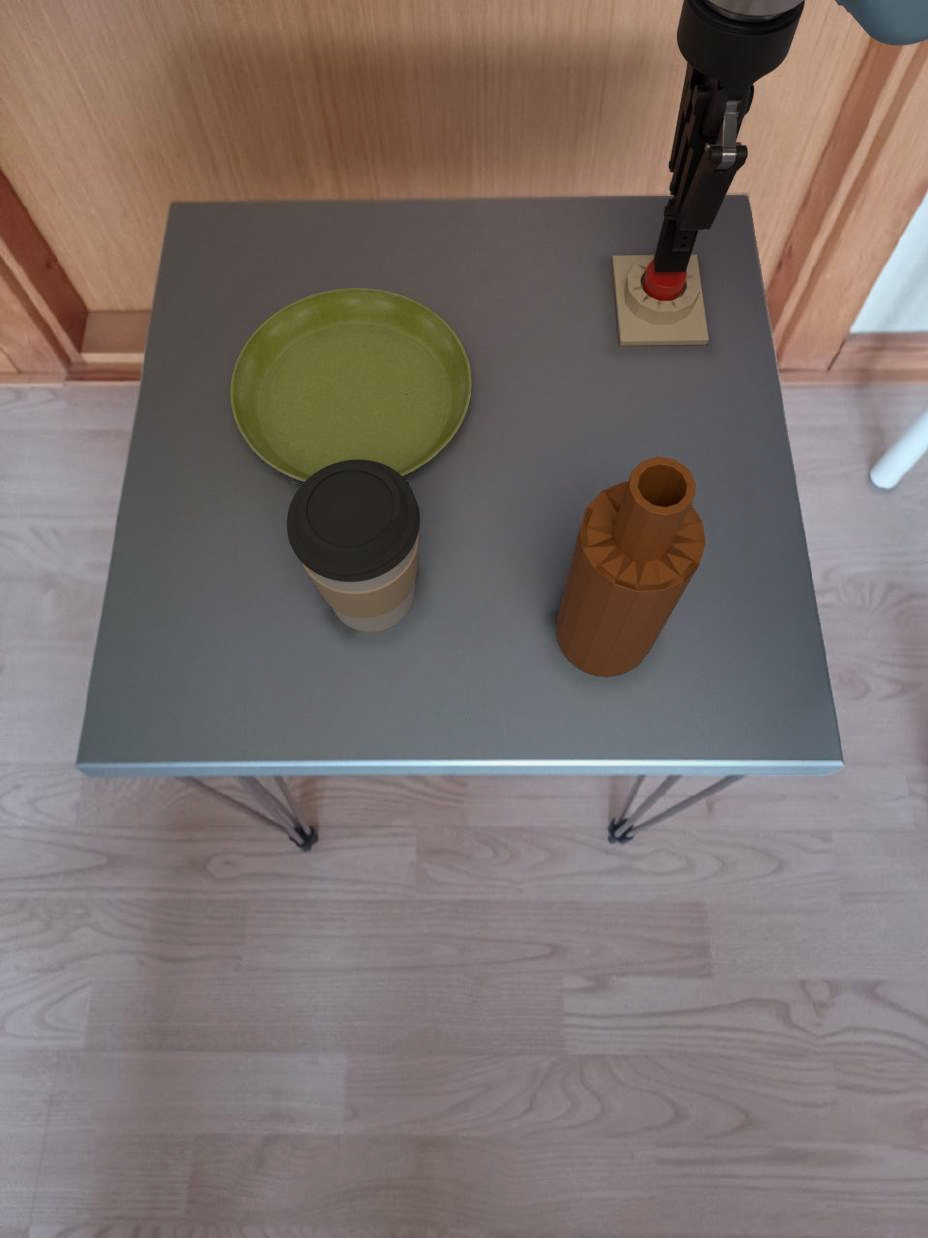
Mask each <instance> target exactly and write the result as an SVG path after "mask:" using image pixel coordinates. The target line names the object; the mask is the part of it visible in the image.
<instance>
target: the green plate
mask: <svg viewBox="0 0 928 1238" xmlns="http://www.w3.org/2000/svg"><path fill="white" fill-rule="evenodd" d="M229 390H230V391H229V393H230V394H229V395H230V396H229V397H230V407H231V411H232V415H233V418H234V422H235V424H236V426H237V428H238V430H239V432H240V434H241V436H242V437H243V439H244V441H245V442H246V444H247V445H248V446H249V447H250V448H251V450H252V451H253V452H254V453H255V454H256V455H257V456H258V457H259V458H260V459H261V460H263V462H265V463H266V464H268V465H269V466H270V467H272V468H273V469H275V470H276V471H278V472H279V473H282V474H284V475H286V476H288V477H290V478H292V479H294V480H297V481H299V482H302V483H304V482H305V481H306V480H307V479H308V478H309V477H310V476H312V475H313V474H314V473H316V472H317V471H319V470H321V469H322V468H324V467H326V466H329V465H331V464H334V463H337V462H341V461H346V460H355V459H362V460H371V461H375V462H379V463H382V464H384V465H387V466H389V467H391V468H392V469H394V470H395V471H397V472H398V473H399V474H400V475H401V476H402V477H403V478H404V477H405V476H407V475H409V474H411V473H413V472H415V471H417V470H418V469H420V468H421V467H423V466H424V465H426V464H427V463H429V461H431V460H432V459H433V458H435V457H436V456H437V455H438V454H439V453H440V452H441V451H443V449H444V448H446V446H447V445H448V444H449V443H450V441H451V440H452V439H453V438H454V437H455V435H456V433H457V432H458V430H459V428H460V427H461V426H462V424H463V421H464V419H465V417H466V414H467V411H468V409H469V405H470V401H471V397H472V369H471V365H470V360H469V357H468V355H467V352H466V350H465V347H464V345H463V343H462V341H461V340H460V338H459V336H457V334H456V332H455V331H454V330H453V329H452V327H451V326H450V325H449V324H448V323H447V322H446V321H445V320H444V319H443V318H442V317H441V316H439V315H438V314H437V313H436V312H435V311H433V310H432V309H430V308H428V307H427V306H426V305H424V304H422V303H420V302H418V301H416V300H415V299H412V298H410V297H408V296H405V295H402V294H399V293H395V292H393V291H387V290H383V289H376V288H368V287H367V288H366V287H349V288H348V287H347V288H338V289H332V290H326V291H322V292H318V293H314V294H311V295H309V296H306V297H303V298H301V299H298V300H296V301H294V302H292V303H290V304H288V305H285V306H284V307H283V308H281V309H279V310H278V311H277V312H275V313H274V314H272V315H271V316H270V317H268V318H267V319H266V320H265V321H264V322H262V324H261V325H260V326H258V327H257V329H256V330H254V332H253V333H252V334H251V335H250V337H249V338H248V340H247V341H246V342H245V344H244V345H243V347H242V349H241V351H240V352H239V355H238V357H237V359H236V361H235V364H234V367H233V371H232V374H231V380H230V389H229Z"/></svg>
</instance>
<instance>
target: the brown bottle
mask: <svg viewBox="0 0 928 1238" xmlns="http://www.w3.org/2000/svg"><path fill="white" fill-rule="evenodd" d="M696 489H697V483H696V481H695V478H694V476H693V475H692V472H691V470H690V469H689V468H688V467H686V466H685V465H684V464H683V463H681V462H680V461H678V460H677V459H674V458H669V457H663V456H655V457H652V458H648V459H643V460H642V461H641V462H640V463H639V464H638V465H637V466H636V467H635V468H634V469H633V470H632V471H631V473H630V476H629V479H628V481H621V482H620V483H618V484H615V485H612V486H611V487H608V488H606V489H602V491H601V492H599V494H598V495H597V496H596V497H594V499H593V500H592V501H591V502H590V503H589V504H588V505H587V506H586V508H585V511H584V514H583V517H582V520H581V521H580V524H579V529H578V533H577V537H576V541H575V545H574V549H573V552H572V557H571V561H570V564H569V568H568V569H569V570H568V573H567V577H566V581H565V585H564V590H563V593H562V596H561V597H562V598H561V600H560V606H559V608H558V612H557V617H556V621H555V623H556V624H555V626H556V627H555V634H556V641H557V644H558V646H559V648H560V650H561V652H562V654H563V655H564V657H565V658H566V659H567V661H568V662H569V663H571V665H573V666H574V667H576V668H577V669H578V670H580V671H581V672H584V673H586V674H589V675H592V676H595V677H603V678H611V677H617V676H618V677H619V676H622V675H624V674H627V673H630V672H631V671H632V670H634V669H635V668H637V667H638V666H639V665H640V664H641V663H642V662H643V661H644V659H645V658H646V657H647V656H648V654H649V653H650V651H651V650H652V648H653V646H654V644H655V643H656V641H657V639H658V638H659V636H660V634H661V632H662V631H663V629H664V627H665V625H666V623H667V622H668V620H669V618H670V616H671V615H672V613H673V611H674V610H675V608H676V606H677V605H678V603H679V601H680V599H681V598H682V596H683V594H684V593H685V591H686V589H687V587H688V585H689V584H690V582H691V581H692V579H693V577H694V575H695V573H696V572H697V570H698V568H699V567H700V565H701V562H702V558H703V554H704V551H705V549H706V545H707V544H706V543H707V542H706V536H705V530H704V524H703V520H702V519H701V517H700V515H699V514H698V512H697V510H696V509H695V508H694V506H693V502H694V499H695V495H696Z"/></svg>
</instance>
